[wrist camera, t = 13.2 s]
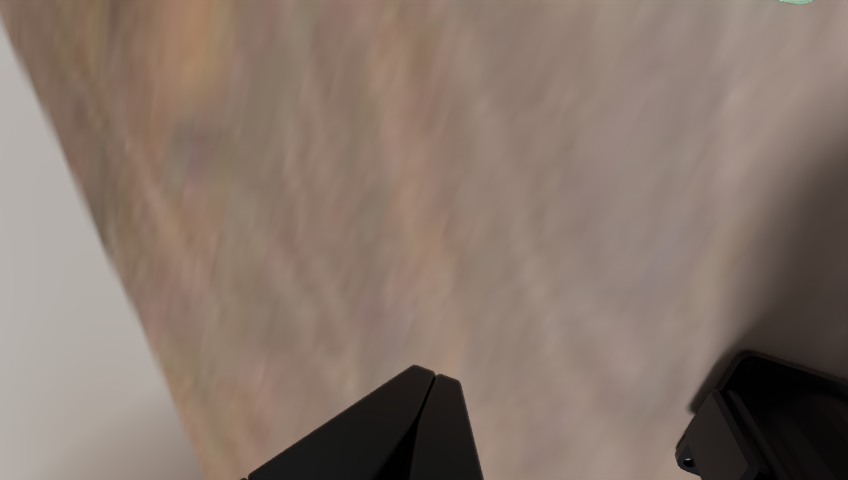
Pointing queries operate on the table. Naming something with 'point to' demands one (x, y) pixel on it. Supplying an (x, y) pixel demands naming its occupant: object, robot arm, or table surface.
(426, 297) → the table surface
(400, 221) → the table surface
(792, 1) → the board
